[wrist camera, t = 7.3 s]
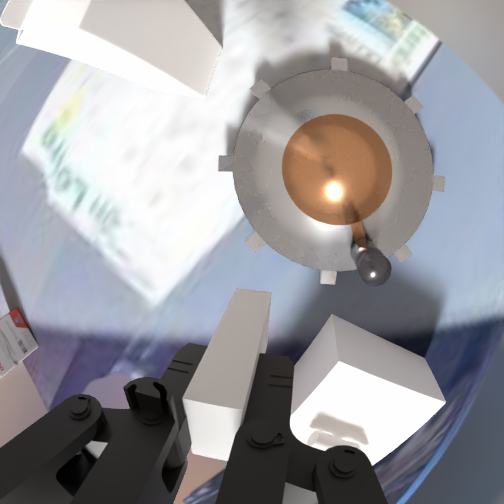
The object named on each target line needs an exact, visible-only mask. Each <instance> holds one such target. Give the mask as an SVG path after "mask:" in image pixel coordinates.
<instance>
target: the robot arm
mask: <svg viewBox="0 0 504 504" xmlns="http://www.w3.org/2000/svg"><path fill="white" fill-rule="evenodd" d="M271 293H272V292H266V291H257V290H248V289H239V288H236V290H235V293H234V295H233V297H232V299H231V301H230V303H229V305H228V307H227V309H226V311H225V313H224V315H223V317H222V319H221V321H220V323H219V325H218V327H217V329H216V331H215V333H214V335H213V337H212V339H211V341H210V343H209V345H208V346H203V345H197V344H192V343H188V344H187V345H185V346H184V347H182V348H181V349H179V350H178V352H177V353H176V355H175V356H174V358H173V360H172V362H171V363H170V364H169V366H168V369H166V371H165V372H164V374H163V376H162V377H161V379H158V378H152V377H143V378H137V379H135V380H133V381H130V382H129V383H128V384H127V385H126V386H124V392H125V395H126V398H127V401H128V403H129V407H130V409H111V408H102V407H101V405H100V403H99V401H97V399H96V398H94V397H92V396H90V395H85V394H78V395H73V396H71V397H69V398H67V399H66V400H64V401H63V402H62V403H60V404H59V405H58V406H56V407H55V408H54V409H52V410H51V411H50V412H48V413H47V414H46V415H44V416H43V417H42V418H40V419H39V420H38V421H36V422H35V423H34V424H32V425H31V426H29V427H28V428H27V429H25V430H24V431H23V432H21V433H20V434H18V435H17V436H16V437H14V438H13V439H12V440H10V441H9V442H8V443H6V444H5V445H4V446H2V447H1V448H0V504H173V502H174V500H175V497H176V495H177V492H178V490H179V487H180V485H181V482H182V479H183V477H184V474H185V472H186V469H187V463H188V461H187V454H188V452H189V449H190V447H191V448H192V453H193V454H198V455H202V456H206V457H211V458H216V459H221V460H226V461H228V462H227V466H226V469H225V472H224V476H223V479H222V483H221V486H220V490H219V493H218V496H217V500H216V503H215V504H388V503H387V500H386V498H385V496H384V493H383V491H382V488H381V486H380V483H379V481H378V479H377V476H376V474H375V471H374V469H373V467H372V464H371V462H370V460H369V458H368V457H367V455H366V454H365V453H364V452H363V451H361V450H360V449H358V448H356V447H352V446H349V445H337V446H334V447H331V448H328V449H327V450H325V451H324V450H320V449H317V448H314V447H311V446H309V445H306V444H304V443H302V442H301V441H300V440H298V439H297V438H296V437H295V435H294V434H293V433H292V430H291V428H290V417H291V405H292V393H293V378H294V365H293V363H292V361H291V359H290V357H289V356H283V355H273V354H265V352H266V347H267V340H268V329H269V317H270V305H271Z"/></svg>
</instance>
